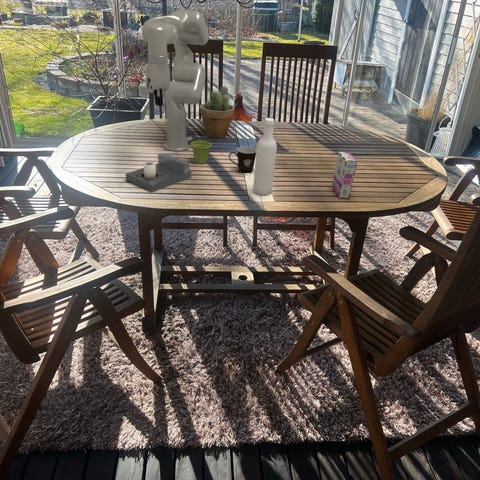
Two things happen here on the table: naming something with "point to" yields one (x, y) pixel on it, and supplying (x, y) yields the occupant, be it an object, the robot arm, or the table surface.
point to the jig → (162, 173)
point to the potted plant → (217, 114)
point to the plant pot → (200, 151)
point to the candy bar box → (344, 174)
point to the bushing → (149, 170)
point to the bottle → (265, 160)
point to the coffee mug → (245, 159)
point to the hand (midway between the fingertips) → (159, 105)
